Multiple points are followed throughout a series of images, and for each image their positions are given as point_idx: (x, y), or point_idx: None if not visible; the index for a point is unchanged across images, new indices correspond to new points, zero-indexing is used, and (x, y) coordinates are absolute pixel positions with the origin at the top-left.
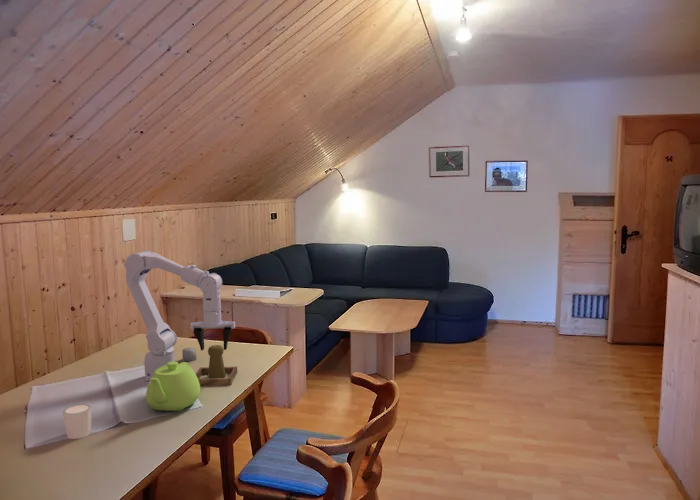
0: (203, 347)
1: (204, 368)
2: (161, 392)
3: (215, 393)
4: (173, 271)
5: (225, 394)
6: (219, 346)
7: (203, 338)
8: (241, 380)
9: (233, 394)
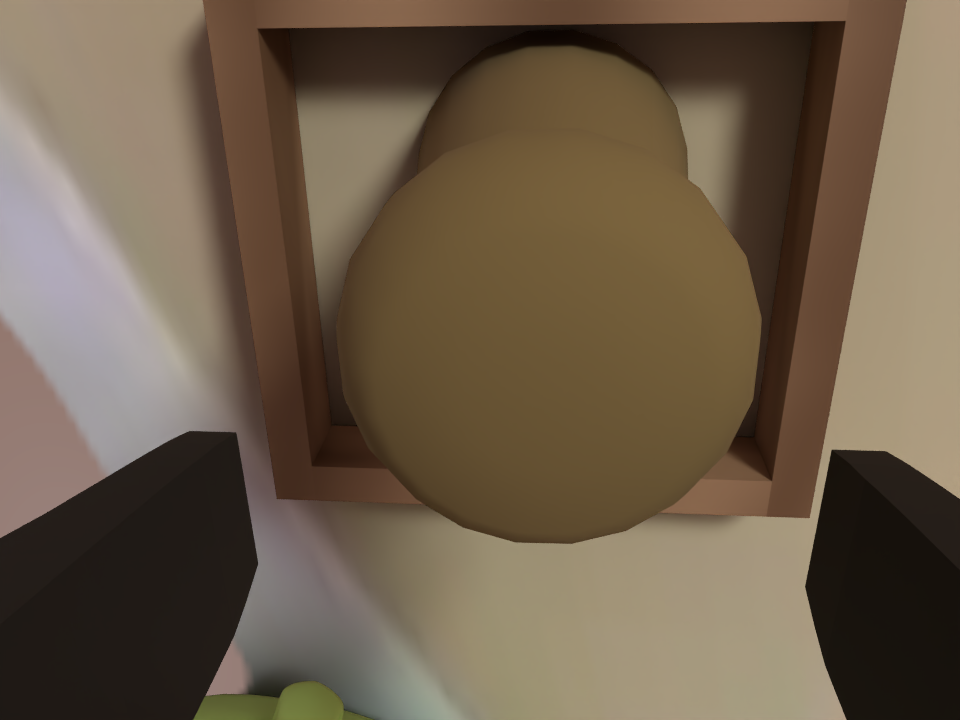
0: (228, 530)
1: (298, 25)
2: None
3: (626, 661)
4: None
5: (736, 692)
6: (667, 427)
7: (64, 601)
8: (928, 341)
9: (821, 701)
